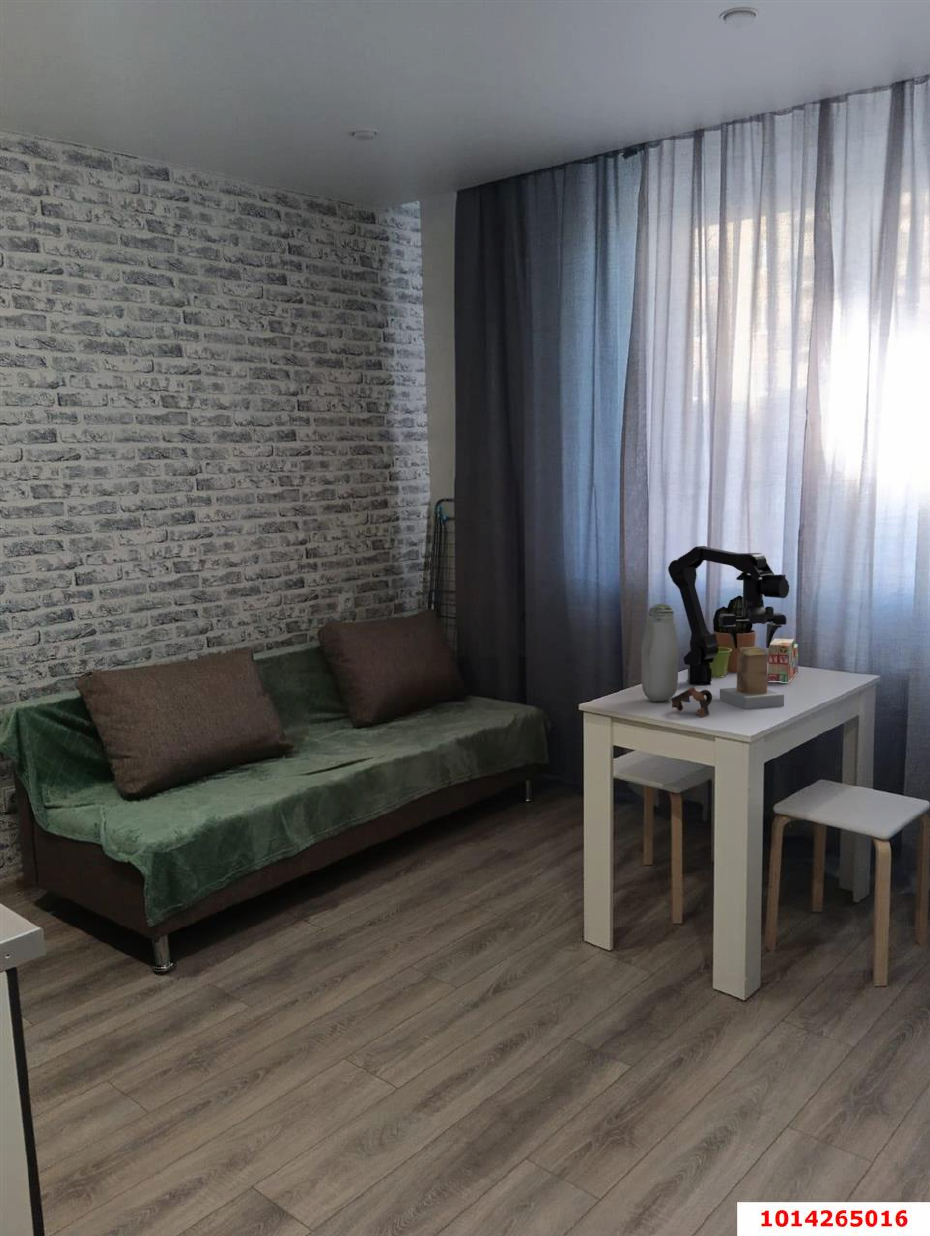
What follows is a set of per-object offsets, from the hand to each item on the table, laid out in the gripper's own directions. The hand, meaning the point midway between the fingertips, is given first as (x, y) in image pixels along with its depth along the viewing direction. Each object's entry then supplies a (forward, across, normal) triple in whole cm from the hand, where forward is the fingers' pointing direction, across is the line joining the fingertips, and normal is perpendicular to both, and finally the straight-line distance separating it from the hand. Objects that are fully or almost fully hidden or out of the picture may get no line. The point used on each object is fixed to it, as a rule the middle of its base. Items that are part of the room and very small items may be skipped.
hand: (751, 648), depth 311 cm
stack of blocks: (+13, +16, +22) cm, 30 cm away
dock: (+13, -4, -16) cm, 21 cm away
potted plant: (+13, +3, +35) cm, 37 cm away
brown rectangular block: (+10, -4, -16) cm, 19 cm away
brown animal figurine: (+13, -22, -28) cm, 39 cm away
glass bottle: (+13, -29, -12) cm, 34 cm away
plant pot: (+13, -5, +25) cm, 29 cm away
